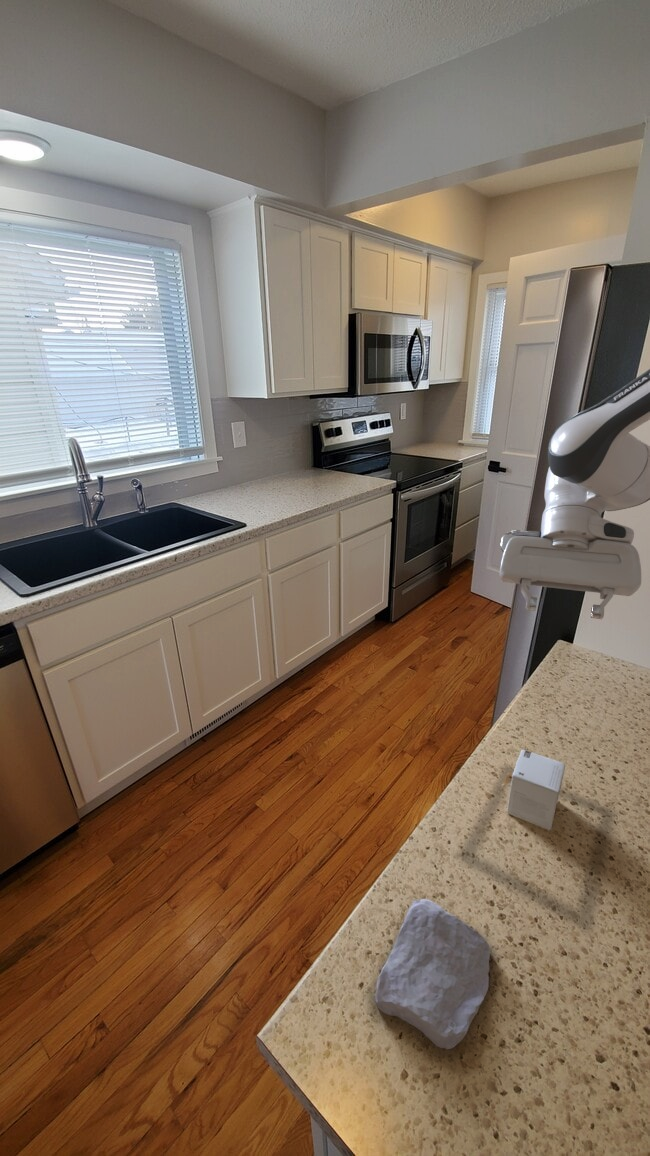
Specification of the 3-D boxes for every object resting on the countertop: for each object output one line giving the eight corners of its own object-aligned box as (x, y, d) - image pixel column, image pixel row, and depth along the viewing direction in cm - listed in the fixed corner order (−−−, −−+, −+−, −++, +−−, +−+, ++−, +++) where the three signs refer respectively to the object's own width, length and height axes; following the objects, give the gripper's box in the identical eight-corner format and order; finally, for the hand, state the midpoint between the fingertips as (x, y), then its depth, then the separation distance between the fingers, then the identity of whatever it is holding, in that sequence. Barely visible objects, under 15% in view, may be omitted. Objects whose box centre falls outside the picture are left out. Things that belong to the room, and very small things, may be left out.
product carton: (551, 832, 67) (559, 793, 64) (505, 813, 70) (511, 775, 67) (557, 800, 71) (566, 763, 68) (515, 784, 74) (521, 747, 72)
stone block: (489, 958, 56) (409, 904, 59) (502, 939, 53) (418, 884, 57) (456, 1081, 47) (365, 1007, 50) (470, 1065, 44) (373, 988, 48)
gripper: (503, 520, 81) (493, 598, 76) (646, 530, 74) (643, 616, 69) (502, 537, 86) (492, 610, 82) (634, 548, 79) (631, 628, 75)
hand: (563, 613), depth 76 cm, fingers open, 8 cm apart
